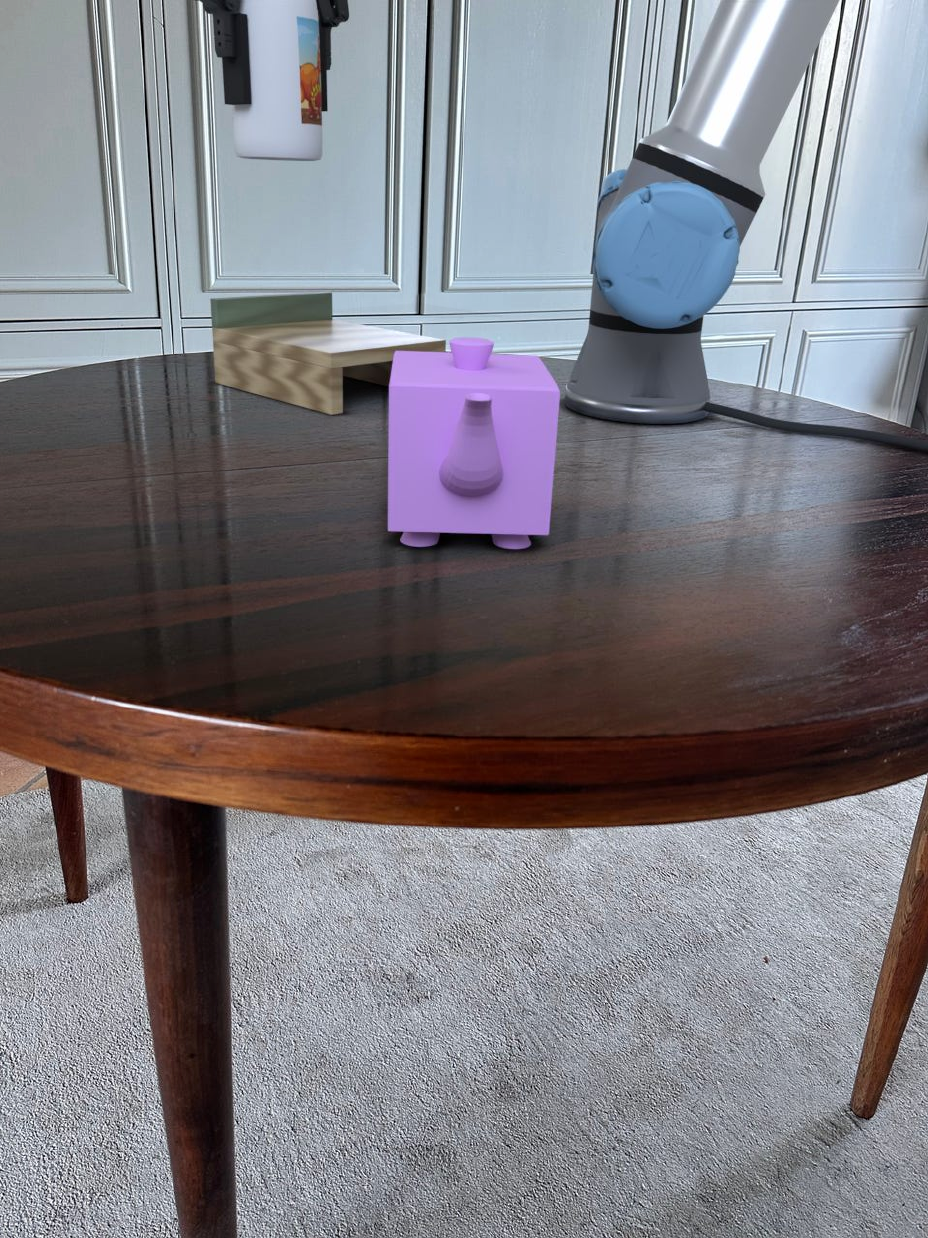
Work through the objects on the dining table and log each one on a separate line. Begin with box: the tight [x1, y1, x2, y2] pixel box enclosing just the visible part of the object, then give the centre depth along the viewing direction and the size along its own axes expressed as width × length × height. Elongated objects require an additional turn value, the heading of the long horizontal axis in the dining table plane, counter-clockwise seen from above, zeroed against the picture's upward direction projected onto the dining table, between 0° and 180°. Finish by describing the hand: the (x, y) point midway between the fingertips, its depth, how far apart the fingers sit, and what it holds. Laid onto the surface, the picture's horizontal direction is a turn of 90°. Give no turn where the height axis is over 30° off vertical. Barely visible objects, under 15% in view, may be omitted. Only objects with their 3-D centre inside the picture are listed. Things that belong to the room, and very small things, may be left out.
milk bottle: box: [231, 0, 323, 162], centre depth 84 cm, size 8×8×20 cm
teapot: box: [387, 336, 561, 550], centre depth 64 cm, size 20×10×12 cm, turn 2°
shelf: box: [209, 291, 447, 416], centre depth 107 cm, size 20×16×9 cm
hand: (277, 107), depth 86 cm, fingers closed on milk bottle, 8 cm apart
